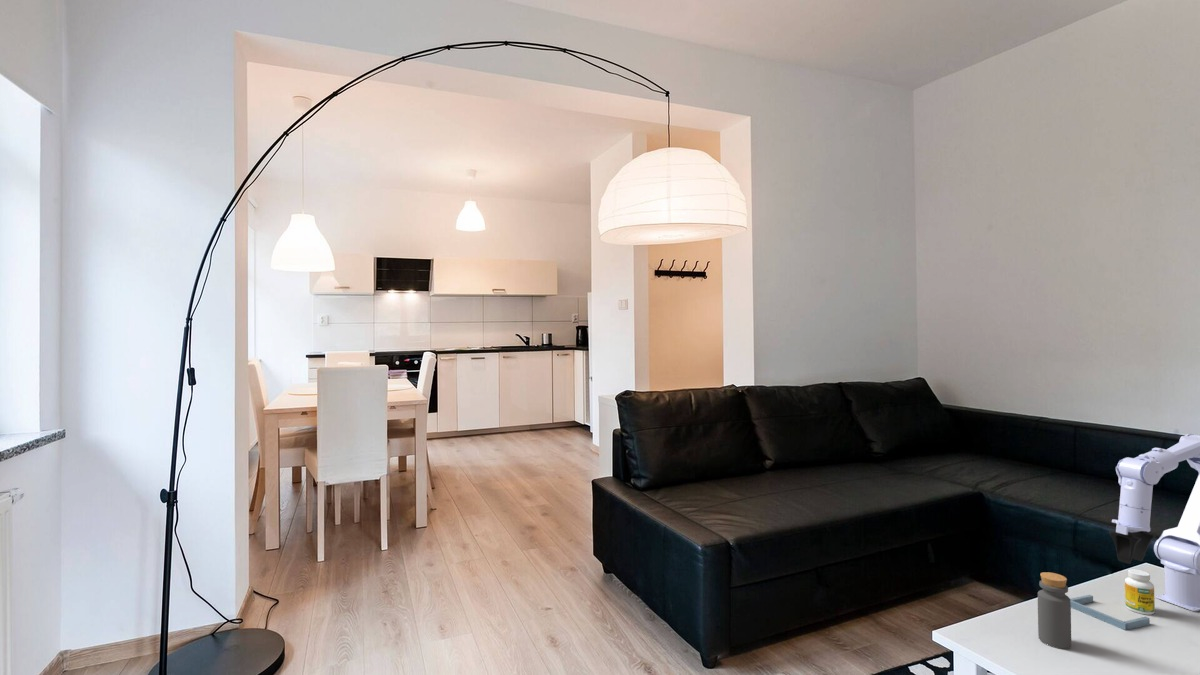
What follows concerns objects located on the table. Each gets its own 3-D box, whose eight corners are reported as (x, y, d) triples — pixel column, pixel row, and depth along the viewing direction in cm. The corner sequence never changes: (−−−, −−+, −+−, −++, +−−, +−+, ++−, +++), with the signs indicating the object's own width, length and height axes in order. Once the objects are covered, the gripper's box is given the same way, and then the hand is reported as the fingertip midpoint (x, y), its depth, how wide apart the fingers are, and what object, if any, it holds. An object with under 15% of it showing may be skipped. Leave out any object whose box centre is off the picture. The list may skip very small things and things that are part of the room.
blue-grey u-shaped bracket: (1089, 600, 146) (1089, 594, 146) (1149, 624, 133) (1149, 618, 133) (1066, 605, 143) (1066, 599, 143) (1125, 630, 131) (1125, 623, 131)
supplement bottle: (1141, 605, 143) (1140, 567, 143) (1161, 615, 137) (1160, 576, 137) (1119, 604, 143) (1118, 567, 143) (1138, 615, 138) (1137, 576, 138)
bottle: (1059, 635, 129) (1057, 571, 129) (1078, 649, 123) (1076, 582, 123) (1032, 634, 130) (1031, 570, 130) (1050, 648, 124) (1048, 581, 124)
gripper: (1125, 501, 147) (1121, 553, 146) (1102, 503, 140) (1097, 557, 139) (1162, 509, 141) (1157, 563, 140) (1139, 511, 134) (1135, 568, 133)
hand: (1130, 561), depth 139 cm, fingers open, 7 cm apart
